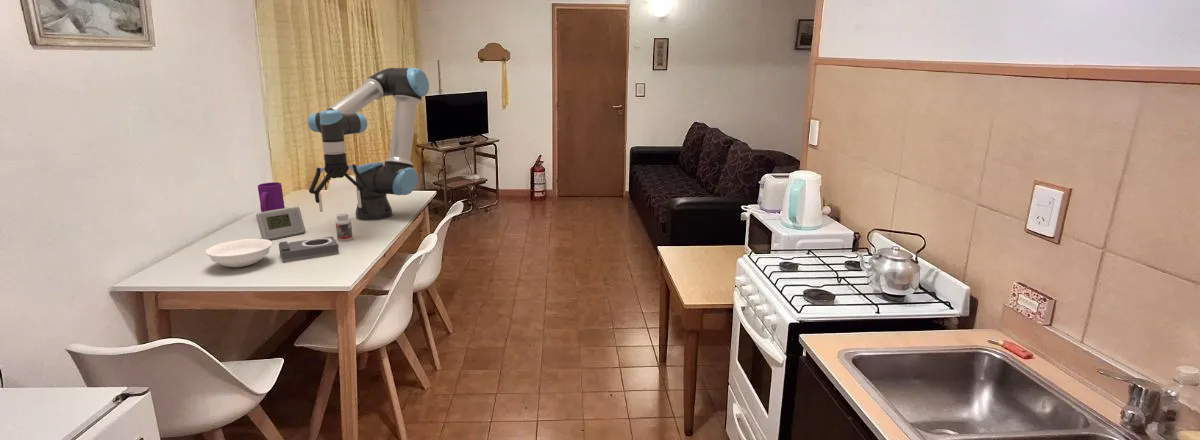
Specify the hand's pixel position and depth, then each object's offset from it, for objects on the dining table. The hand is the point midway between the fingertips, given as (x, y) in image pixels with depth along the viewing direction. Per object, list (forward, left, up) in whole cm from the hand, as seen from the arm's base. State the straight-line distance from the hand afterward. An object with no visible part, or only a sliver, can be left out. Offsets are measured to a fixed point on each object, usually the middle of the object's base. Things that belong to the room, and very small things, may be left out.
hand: (340, 209), depth 240 cm
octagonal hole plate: (+14, +12, -12) cm, 22 cm away
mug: (+22, -48, -12) cm, 54 cm away
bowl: (+35, +13, -12) cm, 39 cm away
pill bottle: (0, 0, -12) cm, 12 cm away
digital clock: (+20, -18, -12) cm, 30 cm away
